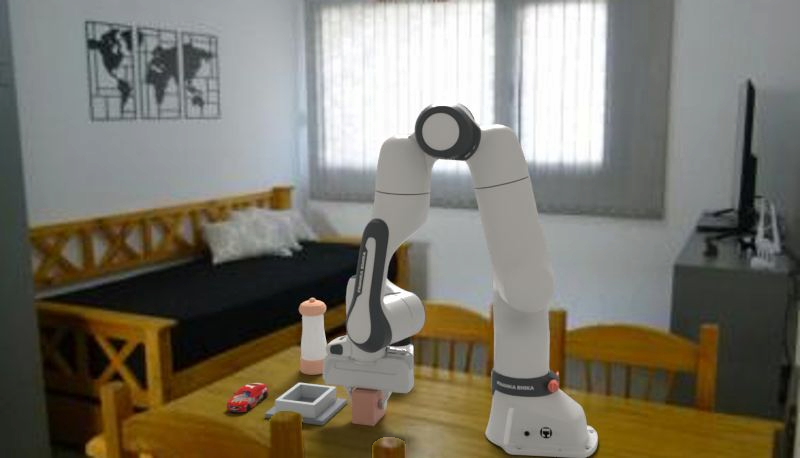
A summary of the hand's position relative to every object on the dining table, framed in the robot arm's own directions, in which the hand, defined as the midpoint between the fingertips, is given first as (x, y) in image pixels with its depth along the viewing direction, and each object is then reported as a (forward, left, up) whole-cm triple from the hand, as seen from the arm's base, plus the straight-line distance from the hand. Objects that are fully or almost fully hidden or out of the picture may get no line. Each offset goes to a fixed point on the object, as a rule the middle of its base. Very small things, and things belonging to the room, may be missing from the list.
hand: (368, 406), depth 166 cm
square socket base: (+15, 0, -3) cm, 15 cm away
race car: (+30, 0, -3) cm, 30 cm away
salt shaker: (+25, -25, -3) cm, 36 cm away
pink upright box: (0, 0, -3) cm, 3 cm away
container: (+2, -25, -3) cm, 25 cm away
